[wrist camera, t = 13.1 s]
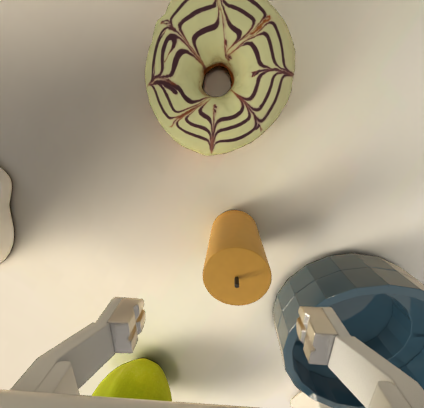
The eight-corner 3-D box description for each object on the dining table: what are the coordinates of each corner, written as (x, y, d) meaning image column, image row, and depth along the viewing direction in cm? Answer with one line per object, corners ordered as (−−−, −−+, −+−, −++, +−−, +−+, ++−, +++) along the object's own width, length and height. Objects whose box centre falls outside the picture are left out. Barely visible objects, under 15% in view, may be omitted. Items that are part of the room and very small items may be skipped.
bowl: (250, 283, 22) (256, 323, 17) (389, 227, 19) (445, 256, 14) (302, 370, 25) (319, 425, 20) (429, 335, 22) (486, 390, 17)
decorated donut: (132, 88, 18) (106, 74, 14) (221, -29, 15) (218, -85, 11) (215, 175, 19) (211, 183, 15) (310, 84, 16) (333, 67, 13)
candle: (203, 222, 21) (187, 271, 13) (244, 202, 20) (254, 242, 12) (225, 257, 22) (222, 323, 14) (264, 240, 21) (286, 300, 13)
